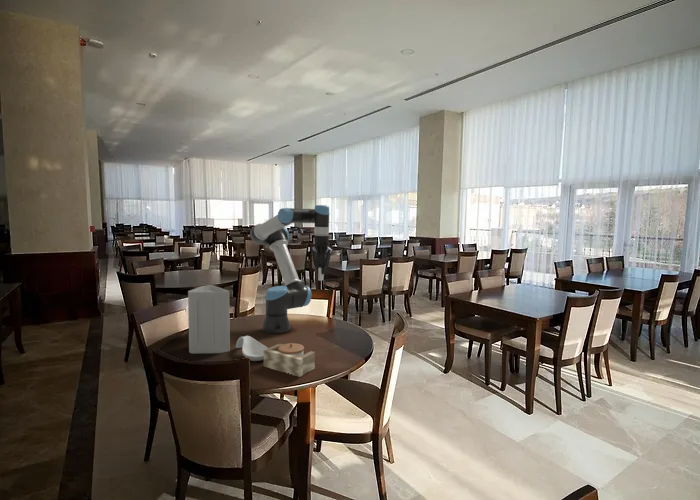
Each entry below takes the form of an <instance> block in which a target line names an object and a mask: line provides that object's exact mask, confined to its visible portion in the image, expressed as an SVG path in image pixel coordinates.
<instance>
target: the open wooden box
mask: <svg viewBox="0 0 700 500" xmlns="http://www.w3.org/2000/svg"><path fill="white" fill-rule="evenodd" d="M283 344H284V343H277V344H275V345H273V346H270V347H267V349H265V350H264V359H263V367H265V368H268V369H271V370H275V371H277V372H282V373H284V372H285V374H288V373H289V374H288V375H291V374H292V375H291V376H296V377H298V378H300V377H303V376H304V375H305V374H308V373H309V372H311V371H313V370H315V367H316V366H315V360H316V351H312V350H311V351H309V352H306V353H303V355H302V356H300V357H297V356H293V355H289V354H285V353H281V352H278V347H279V346H281V345H283ZM307 372H308V373H307Z"/></svg>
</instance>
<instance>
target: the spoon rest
mask: <svg viewBox="0 0 700 500" xmlns="http://www.w3.org/2000/svg"><path fill="white" fill-rule="evenodd" d="M267 348H268V347H267V346H266V345H264V344H262V343H261V342H260V341H257V339H255V338H254V337H252V336H250V335H245V336H239V338H238V339H237V341H236V344H235V349H241V352H242V355H243V357H244V358H245V359H246V358H249V359H250V360H249V361H251V362H259V361H264V350H265V349H267Z"/></svg>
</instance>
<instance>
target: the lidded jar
mask: <svg viewBox="0 0 700 500" xmlns="http://www.w3.org/2000/svg"><path fill="white" fill-rule="evenodd" d="M282 344H283V345H281V346H279V347H278V352H281V353H285V354H289V355H293V356H297V357H300V356H302V355H304V354H305V353H304V352H305V351H304V350H305V347H304V345H302V344H300V343H295V342H290V343H289V342H288V343H282Z"/></svg>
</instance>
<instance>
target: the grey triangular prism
mask: <svg viewBox="0 0 700 500" xmlns="http://www.w3.org/2000/svg"><path fill="white" fill-rule="evenodd" d="M187 299H188V300H187V301H188V302H187V304H188V308H187V309H188V310H187V311H188V352H189V353H190V354H223V353H227V352H230V348H231V347H230V345H231V343H230V341H231V339H230V338H231V337H230V335H231V334H230V331H231V330H230V329H231V328H230V327H231V326H230V322H231V321H230V317H231V316H230V290H227V289H225V288H222V287H219V286H216V285H214V284H213V285H212V284H209V285H207V284H206V285H202V286H199V287H195V288H193V289H190V290H188V291H187Z"/></svg>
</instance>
